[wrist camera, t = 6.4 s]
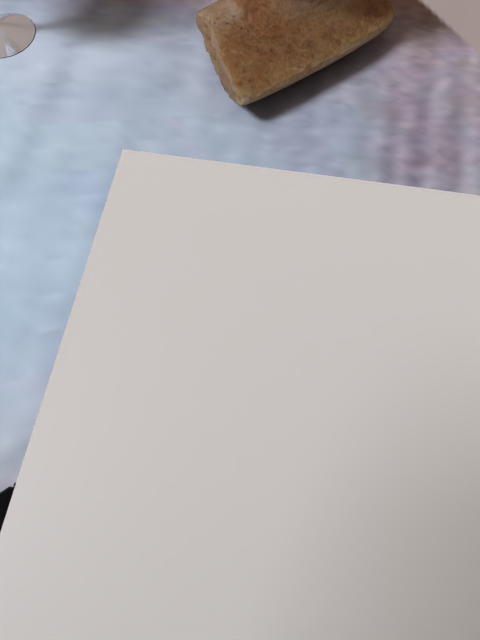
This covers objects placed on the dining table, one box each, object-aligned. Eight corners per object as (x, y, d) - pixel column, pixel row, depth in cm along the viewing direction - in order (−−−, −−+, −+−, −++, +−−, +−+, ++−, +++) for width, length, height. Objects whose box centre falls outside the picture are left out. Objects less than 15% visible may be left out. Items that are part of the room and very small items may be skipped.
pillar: (320, 519, 13) (744, 970, 2) (192, 495, 14) (-74, 766, 2) (332, 389, 15) (627, 214, 3) (216, 370, 15) (123, 149, 4)
